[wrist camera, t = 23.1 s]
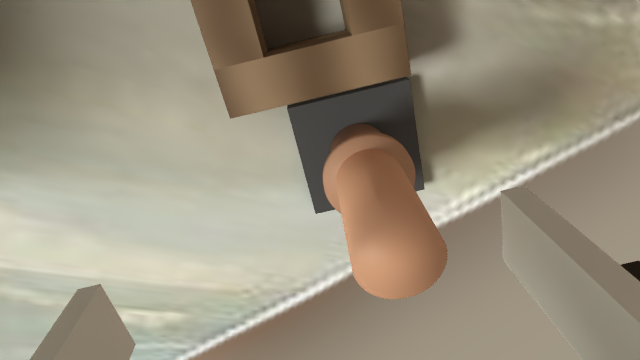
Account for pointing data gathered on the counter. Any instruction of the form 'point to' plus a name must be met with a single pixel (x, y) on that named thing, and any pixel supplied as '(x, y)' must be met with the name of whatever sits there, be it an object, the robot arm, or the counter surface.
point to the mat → (346, 109)
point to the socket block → (300, 54)
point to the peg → (382, 214)
